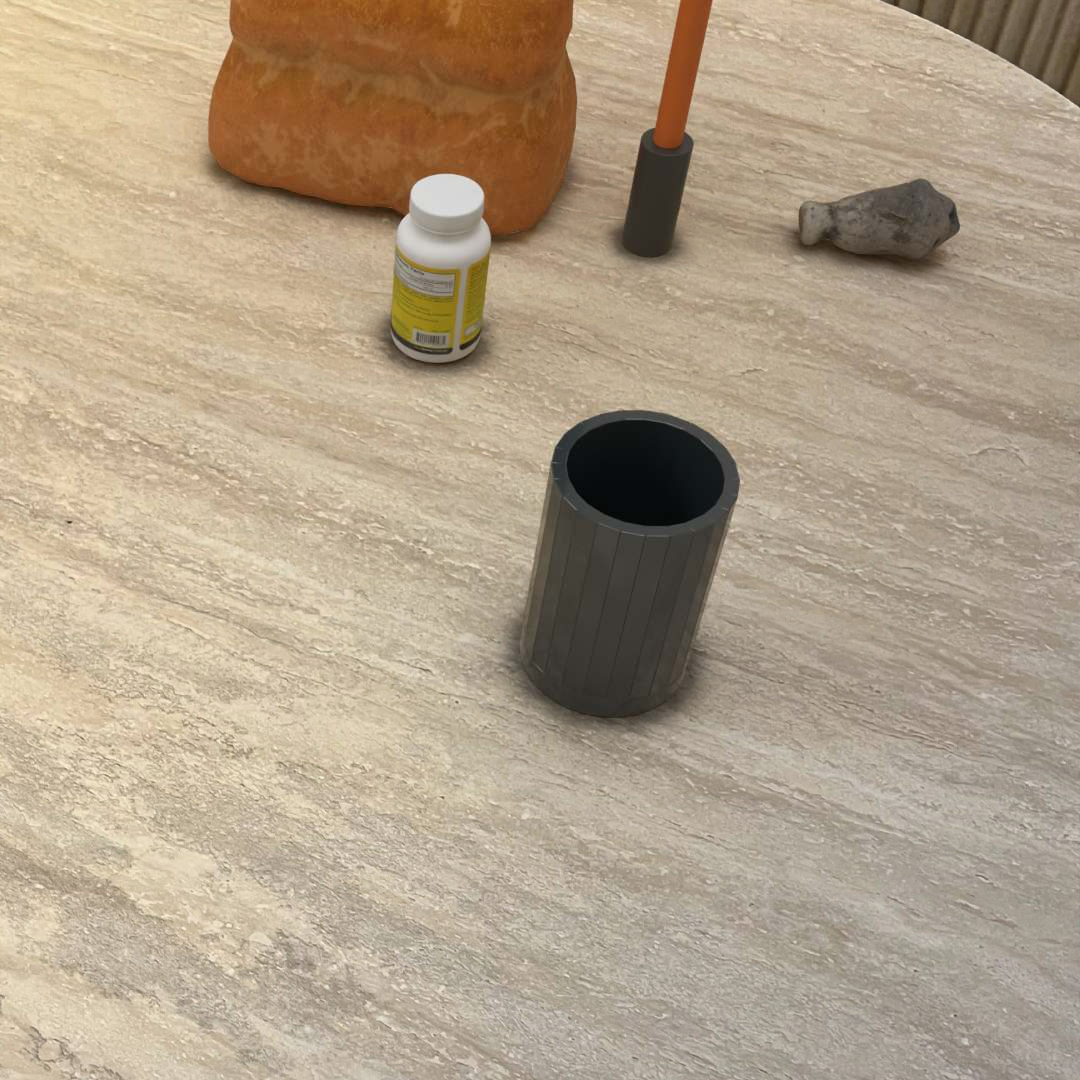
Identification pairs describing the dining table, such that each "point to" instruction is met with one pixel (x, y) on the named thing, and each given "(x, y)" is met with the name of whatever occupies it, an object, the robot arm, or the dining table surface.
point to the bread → (399, 100)
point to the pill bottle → (440, 270)
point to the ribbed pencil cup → (625, 560)
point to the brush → (667, 142)
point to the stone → (883, 221)
